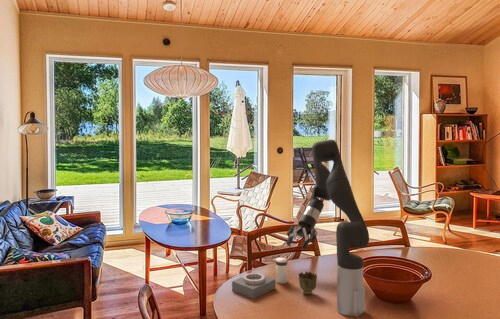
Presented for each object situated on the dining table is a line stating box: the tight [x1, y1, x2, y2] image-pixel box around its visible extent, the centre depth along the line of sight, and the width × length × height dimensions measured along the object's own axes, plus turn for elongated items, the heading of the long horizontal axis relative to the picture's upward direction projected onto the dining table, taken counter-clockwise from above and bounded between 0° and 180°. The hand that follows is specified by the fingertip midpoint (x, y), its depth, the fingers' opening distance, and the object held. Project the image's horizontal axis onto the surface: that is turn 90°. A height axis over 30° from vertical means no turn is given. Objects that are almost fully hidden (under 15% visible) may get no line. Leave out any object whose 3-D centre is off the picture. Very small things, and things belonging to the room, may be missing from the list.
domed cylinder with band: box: [275, 257, 288, 285], centre depth 168 cm, size 5×5×10 cm
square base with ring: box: [231, 272, 276, 300], centre depth 159 cm, size 12×14×6 cm
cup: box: [298, 271, 318, 296], centre depth 155 cm, size 8×7×8 cm
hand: (295, 246), depth 175 cm, fingers open, 8 cm apart
